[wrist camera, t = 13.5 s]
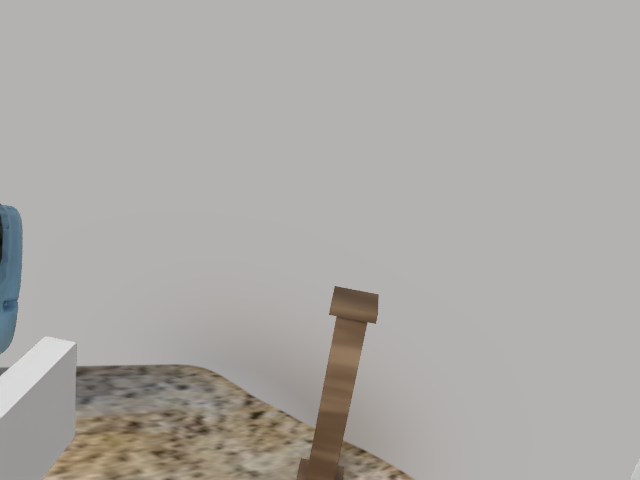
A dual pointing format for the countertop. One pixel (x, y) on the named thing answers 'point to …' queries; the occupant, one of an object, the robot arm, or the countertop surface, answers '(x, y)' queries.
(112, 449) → the countertop surface
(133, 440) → the countertop surface
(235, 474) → the countertop surface
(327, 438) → the wooden headphone stand
